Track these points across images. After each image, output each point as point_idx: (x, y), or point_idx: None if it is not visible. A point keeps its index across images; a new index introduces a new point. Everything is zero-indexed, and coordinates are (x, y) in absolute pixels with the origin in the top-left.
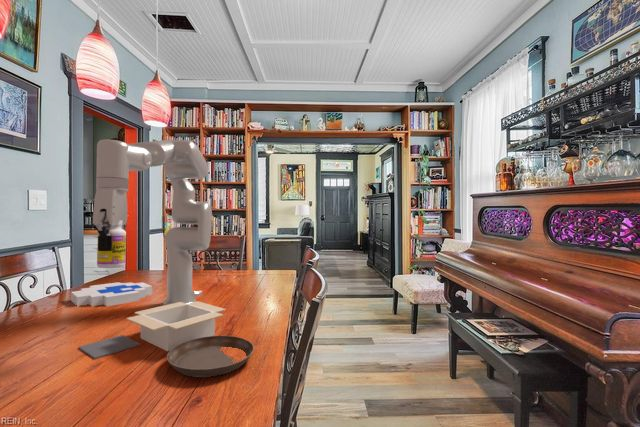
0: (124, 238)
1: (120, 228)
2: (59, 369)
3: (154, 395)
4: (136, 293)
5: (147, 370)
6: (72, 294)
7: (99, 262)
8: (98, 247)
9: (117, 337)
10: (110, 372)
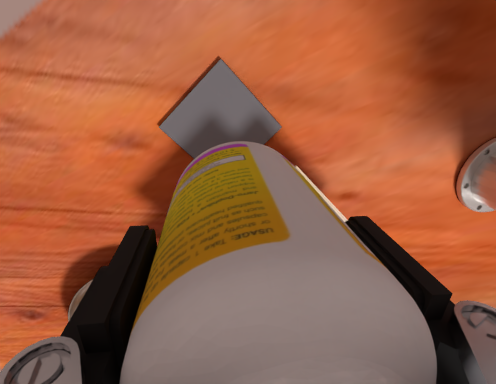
0: None
1: None
2: (112, 78)
3: (37, 268)
4: None
5: (113, 233)
6: None
7: (178, 182)
8: (122, 242)
9: (267, 123)
10: (103, 180)
